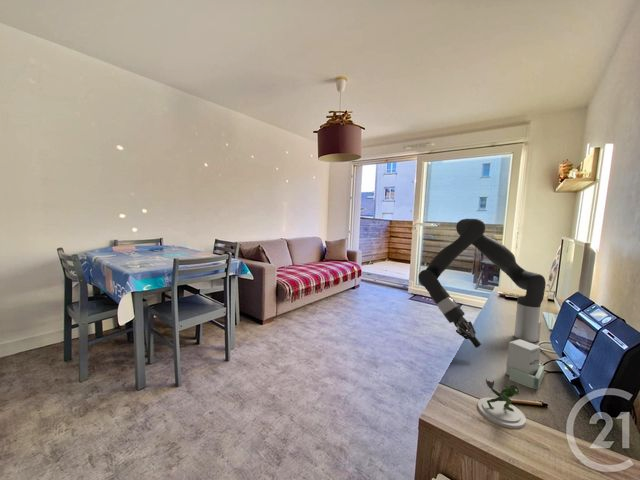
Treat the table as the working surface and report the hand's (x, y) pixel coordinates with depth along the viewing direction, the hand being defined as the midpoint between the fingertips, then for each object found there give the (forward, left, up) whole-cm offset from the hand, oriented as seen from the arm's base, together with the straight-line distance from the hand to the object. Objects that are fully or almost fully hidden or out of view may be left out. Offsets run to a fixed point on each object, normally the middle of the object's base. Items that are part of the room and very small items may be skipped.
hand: (478, 346), depth 113 cm
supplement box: (-10, +11, -6) cm, 16 cm away
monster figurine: (+10, +32, -6) cm, 34 cm away
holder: (-12, +12, -6) cm, 18 cm away
